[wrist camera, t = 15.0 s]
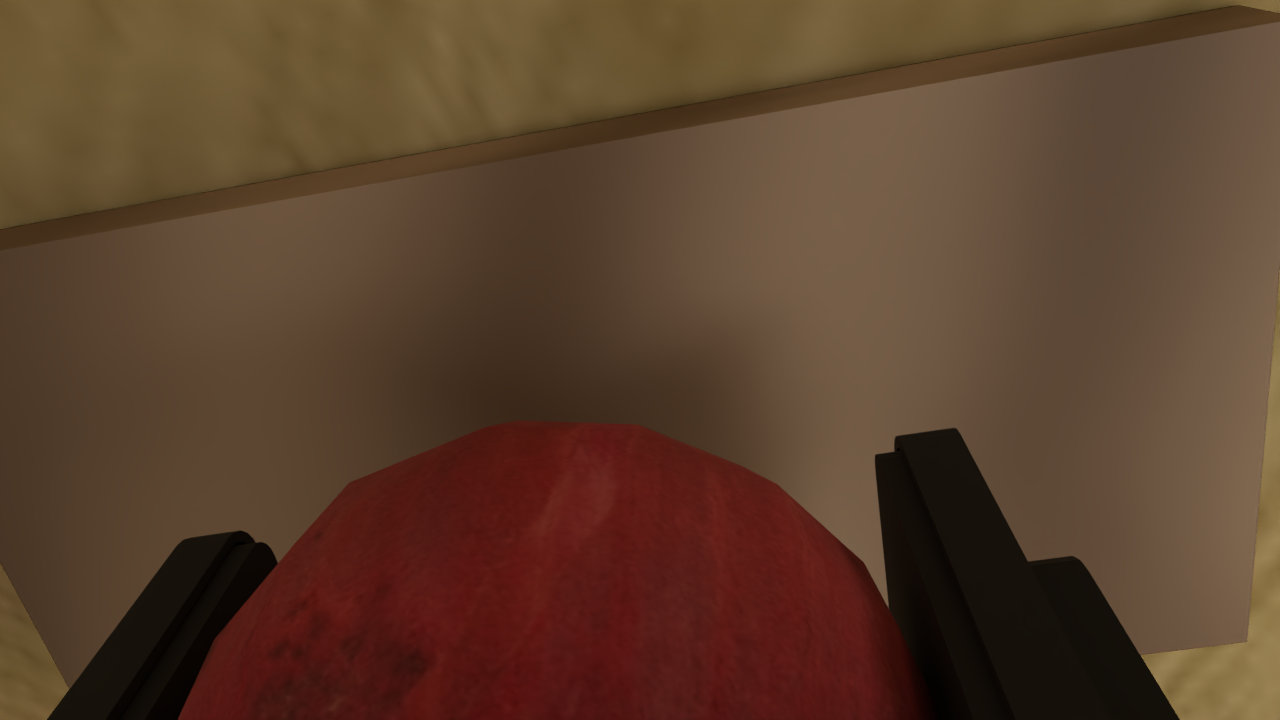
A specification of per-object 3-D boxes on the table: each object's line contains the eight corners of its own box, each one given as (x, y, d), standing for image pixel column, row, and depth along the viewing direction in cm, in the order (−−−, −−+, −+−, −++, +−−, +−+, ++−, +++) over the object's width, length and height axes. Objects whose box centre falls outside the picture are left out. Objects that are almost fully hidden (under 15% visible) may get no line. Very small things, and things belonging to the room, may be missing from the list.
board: (1239, 5, 11) (1300, 18, 10) (1203, 585, 14) (1247, 642, 13) (-85, 244, 13) (-156, 278, 12) (156, 719, 16) (119, 779, 15)
